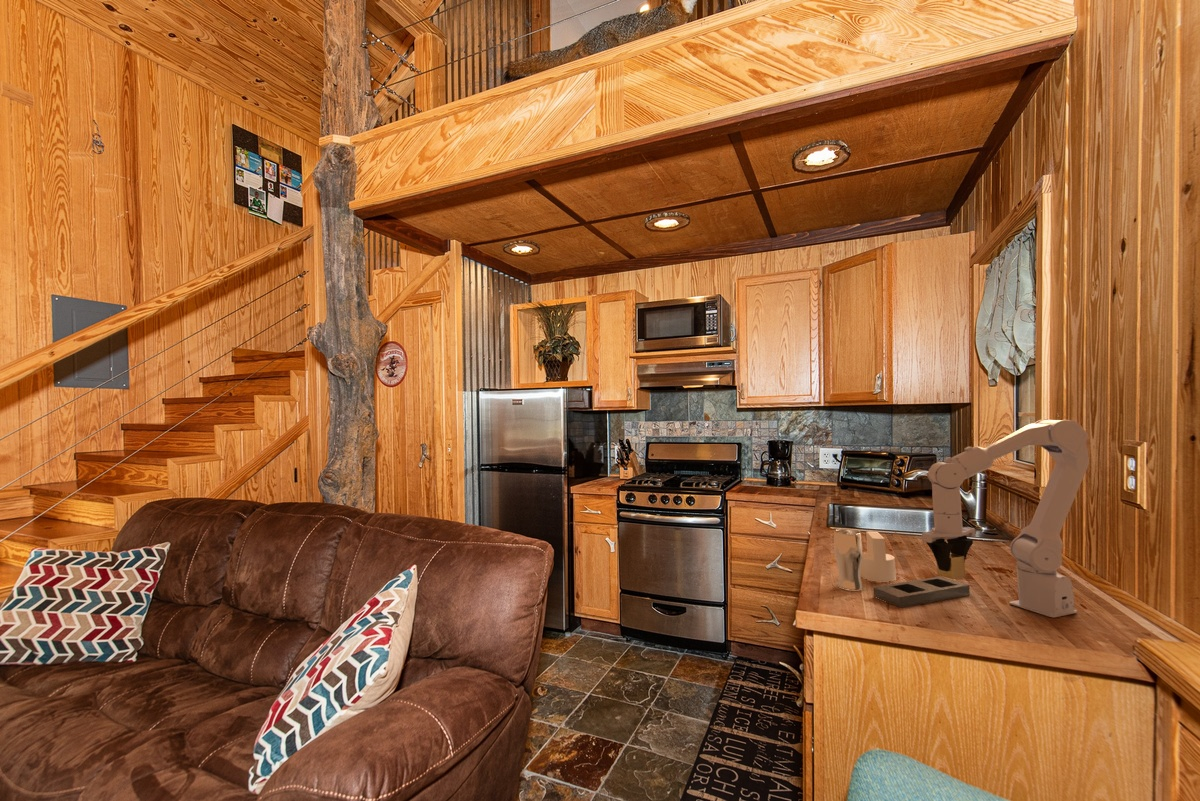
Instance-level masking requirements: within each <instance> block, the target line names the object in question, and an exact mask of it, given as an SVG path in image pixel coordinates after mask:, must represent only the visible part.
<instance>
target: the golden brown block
mask: <svg viewBox="0 0 1200 801" xmlns="http://www.w3.org/2000/svg"><path fill="white" fill-rule="evenodd" d="M936 575H938V576H941V577H944V578H948V579H951V580H956V579H957V580H958V579H962V578H966V566H965V563H964V556H962V555H958V554H954V553H951V552H950V559H949V571H943V570H939V567H938V565H937V564H936Z"/></svg>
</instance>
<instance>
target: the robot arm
mask: <svg viewBox="0 0 1200 801" xmlns="http://www.w3.org/2000/svg"><path fill="white" fill-rule="evenodd" d="M1089 438H1090V435H1089V434H1088V433H1087V431H1086V430H1085V429H1084V427H1082V425H1081V424H1080V423H1078V422H1077V421H1075V420H1072V419H1062V420H1060V419H1048V418H1047V419H1046V418H1044V419H1039V420H1037V421H1035V422H1034V423H1028V424H1026V425H1024V426H1023V427H1021V428H1019V429H1017V430H1016V431H1014V432H1012V433H1010V434H1008V435H1005V436H1004V437H1003V438H1000V439H999V440H996V441H994V442H993V443H991V444H989V445H987V446H986V447H981V446H973V447H972V446H966V447H964V449H963V450H964V451H962V452H961V453H958V454H956V455H954V456H952V457H951V456H948V457H946V458H944V459H945V462H942V461H939V462H936V463H933V464H932V465H931V466H930V468H928V472H927V473H926V476H927V479H928V480H929V481H930V482H931V487H932V488H931V491H932V494H931V495H932V508H933V509H932V510H933V511H932V513H933V524H934V527H931V530H929V531H926V532H922V533H921V541H922V542H924V543H925V544H927V545H926V546H928V547H929V549H930V551H931V552H932V554H933V556H934V559H935V562H936V566H937V565H938V567H939V570H943V571H949V559H950V553H954V554H958V555H962V556H964V564H965V563H966V559H967V555H968V552H969V550H970V549H971V547H972V545H973V544H974V540H973V539H972V538H968V537H976V529H975V528H974V527H969V526H964V527H963V514H962V498H961V496H962V495H961V488H960V487H961V485H962V484H963V483H964V481H965V480H967V479H969V478H971V477H973V476H975V475H978V474H980V473H982V472H984V471H987V470H988V469H990V468H992V467H993V465H994V461H995V460H996V459H999V458H1003V457H1005V456H1006V455H1009V454H1011V453H1015V452H1016V451H1018V450H1021V449H1023V448H1025V447H1029V446H1040V447H1042V448H1043V449H1044V450H1045V451H1047V452H1048V454H1049V455H1050V456H1051V458H1052V459H1053V461H1054V463H1055V464H1054V467H1053V468H1052V472H1051V473H1050V475H1049V478H1048V480H1047V483H1046V486H1045V488H1044V491H1043V492H1042V495H1041V497H1040V500H1039V503H1038V505H1037V507H1036V509H1035V512H1034V514H1033V517H1032V519H1031V521H1030V524H1028V525H1026V526H1025V527H1023V528H1021V530H1020V533H1018V534H1019V535H1018V536H1016V537H1015V538H1014V539H1013V540H1011V542H1010V545H1009V551H1010V553H1011V555H1012V557H1013V558H1015V559H1016V563H1015V564H1016V577H1017V579H1016V580H1017V594H1018V600H1011V601H1009V605H1012V606H1015V607H1018V608H1020V609H1021V608H1022V609H1025V610H1027V611H1030V612H1034V613H1037V614H1040V615H1042V616H1046V617H1050V618H1052V619H1053V618H1058V617H1063V616H1069V615H1073V614H1076V613H1078V610H1077V609H1075V598H1074V597H1075V596H1074V586H1073V583H1072V581H1071V579H1070V578H1069V577H1068V576H1065V575H1063V574H1061V573H1059V572H1058V571H1057V570H1059V568H1061V567H1062V564H1063V556H1062V551H1063V548H1064V547H1065V546H1064V542H1063V541H1062V540H1063V539H1062V538H1061V536H1060V534H1061V531H1062V529H1063V526H1064V524H1065V522H1066V520H1067V517H1068V516H1069V515H1068V514H1069V512H1070V510H1071V509H1072V508H1071V507H1072V505H1073V503H1074V500H1075V498H1076V495H1077V493H1078V492H1079V489H1080V486H1081V484H1082V482H1083V479H1084V476H1086V471H1087V470H1088V468H1089V465H1090V457H1089V450H1088V445H1087V441H1088V440H1089Z"/></svg>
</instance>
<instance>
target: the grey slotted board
mask: <svg viewBox="0 0 1200 801" xmlns="http://www.w3.org/2000/svg"><path fill="white" fill-rule="evenodd" d="M872 589H873V590H872V591H873V598H875V597H877V598H879V599H881V600H880V601H882V600H884V601H886V602H885V603H887V602H888V603H887V604H889V603H890V604H889V605H892V604H893V605H892V606H894V605H895V606H894V607H897V608H899V607H900V608H899V609H901V608H907V606H908V607H912V606H919V605H923V604H928V603H934V602H939V601H945V600H950V599H956V598H961V597H967V596H971V595H970V592H971V591H970V585H969V584H966V583H965V582H964V583H963V582H960V581H957V580H955V579H950V578H946V577H943V576H940V575H938V576H934V577H933V576H932V577H928V578H921V579H916V580H910V581H903V582H896V583H891V584H890V583H889V584H885V585H881V586H880V585H879V586H873V588H872ZM877 598H876V599H877ZM879 599H878V600H879ZM884 601H883V602H884Z"/></svg>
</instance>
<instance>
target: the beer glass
mask: <svg viewBox="0 0 1200 801" xmlns="http://www.w3.org/2000/svg"><path fill="white" fill-rule="evenodd" d="M862 540H863V538H862V532H861V531H860V530H856V529H850V528H838V529H835V530H833V549H834V550H833V552H834V556H835V559H836V560H835V562H836V565H837V569H838V582H837V587H838V586H839V587H841V588H844V589H849V590H861V589H863V590H864V585H863V582H862V578H861V565H862V556H863V553H864V552H863V549H864V548H863V541H862ZM839 587H838V588H839ZM861 591H862V590H861Z"/></svg>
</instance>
